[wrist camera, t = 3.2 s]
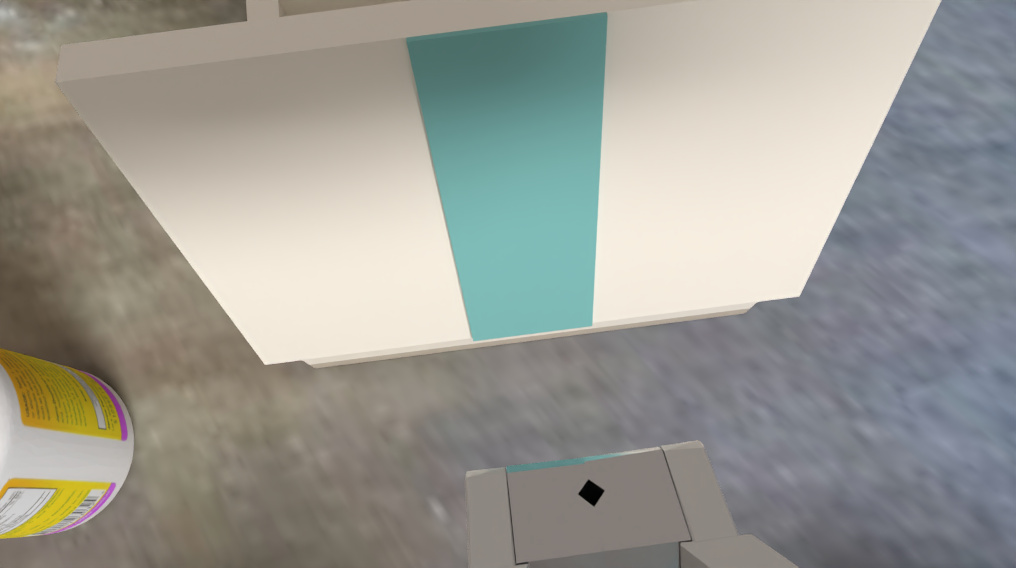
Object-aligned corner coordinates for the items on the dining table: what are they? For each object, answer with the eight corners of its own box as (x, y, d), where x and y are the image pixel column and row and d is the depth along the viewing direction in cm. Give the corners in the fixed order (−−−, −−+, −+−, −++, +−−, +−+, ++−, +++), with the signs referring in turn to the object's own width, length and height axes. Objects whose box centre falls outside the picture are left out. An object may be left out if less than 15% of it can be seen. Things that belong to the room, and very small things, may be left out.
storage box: (686, 13, 41) (717, -85, 34) (744, 313, 37) (790, 271, 31) (292, 63, 41) (244, -25, 34) (315, 368, 37) (266, 338, 31)
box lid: (939, -68, 18) (959, -29, 18) (791, 270, 31) (800, 299, 30) (61, 44, 18) (54, 87, 18) (265, 337, 31) (265, 367, 30)
